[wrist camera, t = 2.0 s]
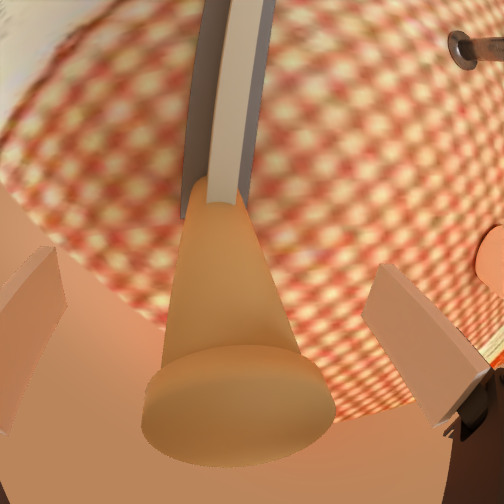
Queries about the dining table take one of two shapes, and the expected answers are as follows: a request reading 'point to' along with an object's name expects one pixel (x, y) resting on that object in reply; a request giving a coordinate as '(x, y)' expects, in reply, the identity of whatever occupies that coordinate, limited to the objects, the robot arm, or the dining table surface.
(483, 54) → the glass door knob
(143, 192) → the dining table surface
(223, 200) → the slotted fence panel
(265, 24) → the strip
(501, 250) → the potion bottle
